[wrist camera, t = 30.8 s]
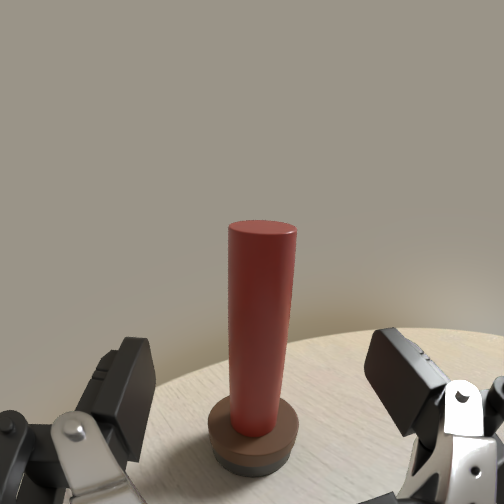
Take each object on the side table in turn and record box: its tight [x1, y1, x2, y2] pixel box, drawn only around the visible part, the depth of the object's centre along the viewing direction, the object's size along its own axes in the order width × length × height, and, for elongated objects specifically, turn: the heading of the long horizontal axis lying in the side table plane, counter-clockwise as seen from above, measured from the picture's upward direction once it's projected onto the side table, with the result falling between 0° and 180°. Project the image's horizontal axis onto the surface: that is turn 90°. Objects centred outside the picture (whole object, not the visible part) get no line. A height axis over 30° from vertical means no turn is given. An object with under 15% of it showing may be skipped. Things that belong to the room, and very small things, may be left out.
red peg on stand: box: [208, 220, 299, 477], centre depth 13 cm, size 5×5×14 cm
